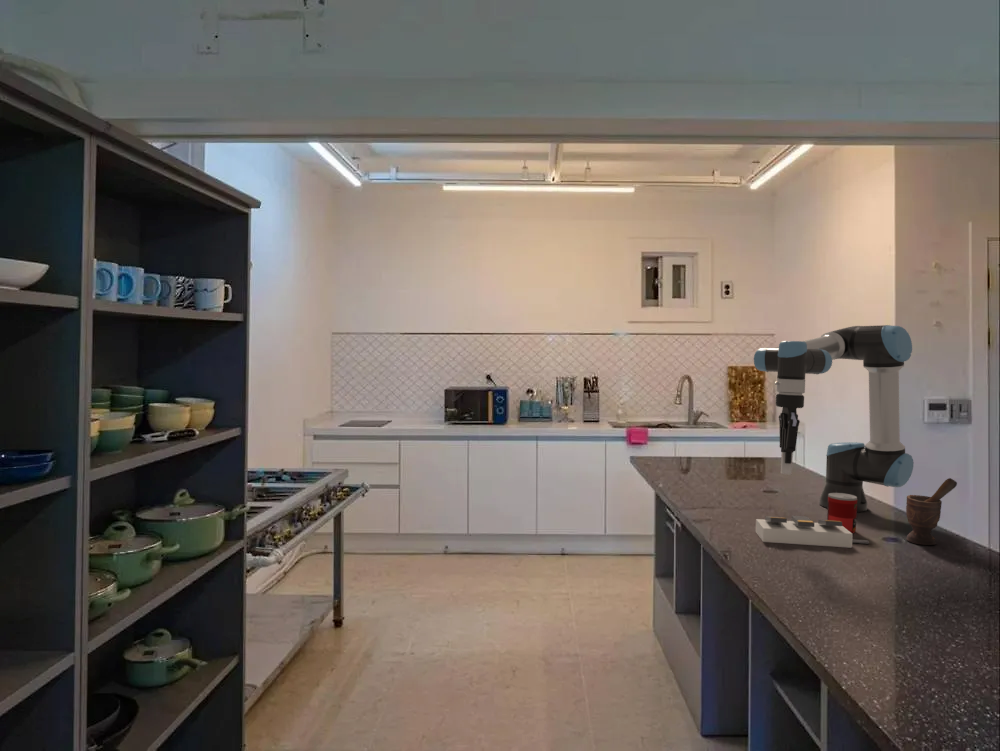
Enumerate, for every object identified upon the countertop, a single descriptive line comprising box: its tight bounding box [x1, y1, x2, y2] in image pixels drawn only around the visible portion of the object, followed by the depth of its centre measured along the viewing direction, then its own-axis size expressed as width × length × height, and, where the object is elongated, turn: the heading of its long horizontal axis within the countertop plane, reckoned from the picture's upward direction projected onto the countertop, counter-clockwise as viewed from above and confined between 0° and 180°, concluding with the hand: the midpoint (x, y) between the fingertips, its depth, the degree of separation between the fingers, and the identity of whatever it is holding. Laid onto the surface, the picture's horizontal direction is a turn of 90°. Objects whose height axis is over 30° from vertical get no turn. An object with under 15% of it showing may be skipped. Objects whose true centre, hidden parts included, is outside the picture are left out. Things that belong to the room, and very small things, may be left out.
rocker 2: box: [817, 519, 842, 526], centre depth 186 cm, size 4×7×1 cm, turn 170°
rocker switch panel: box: [755, 518, 870, 549], centre depth 187 cm, size 30×10×4 cm, turn 80°
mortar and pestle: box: [905, 477, 958, 546], centre depth 186 cm, size 12×9×20 cm
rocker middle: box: [790, 515, 815, 527], centre depth 188 cm, size 4×7×1 cm, turn 170°
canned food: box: [826, 493, 858, 534], centre depth 198 cm, size 8×8×11 cm
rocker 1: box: [764, 516, 788, 523], centre depth 189 cm, size 4×7×1 cm, turn 170°
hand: (786, 473), depth 187 cm, fingers closed
